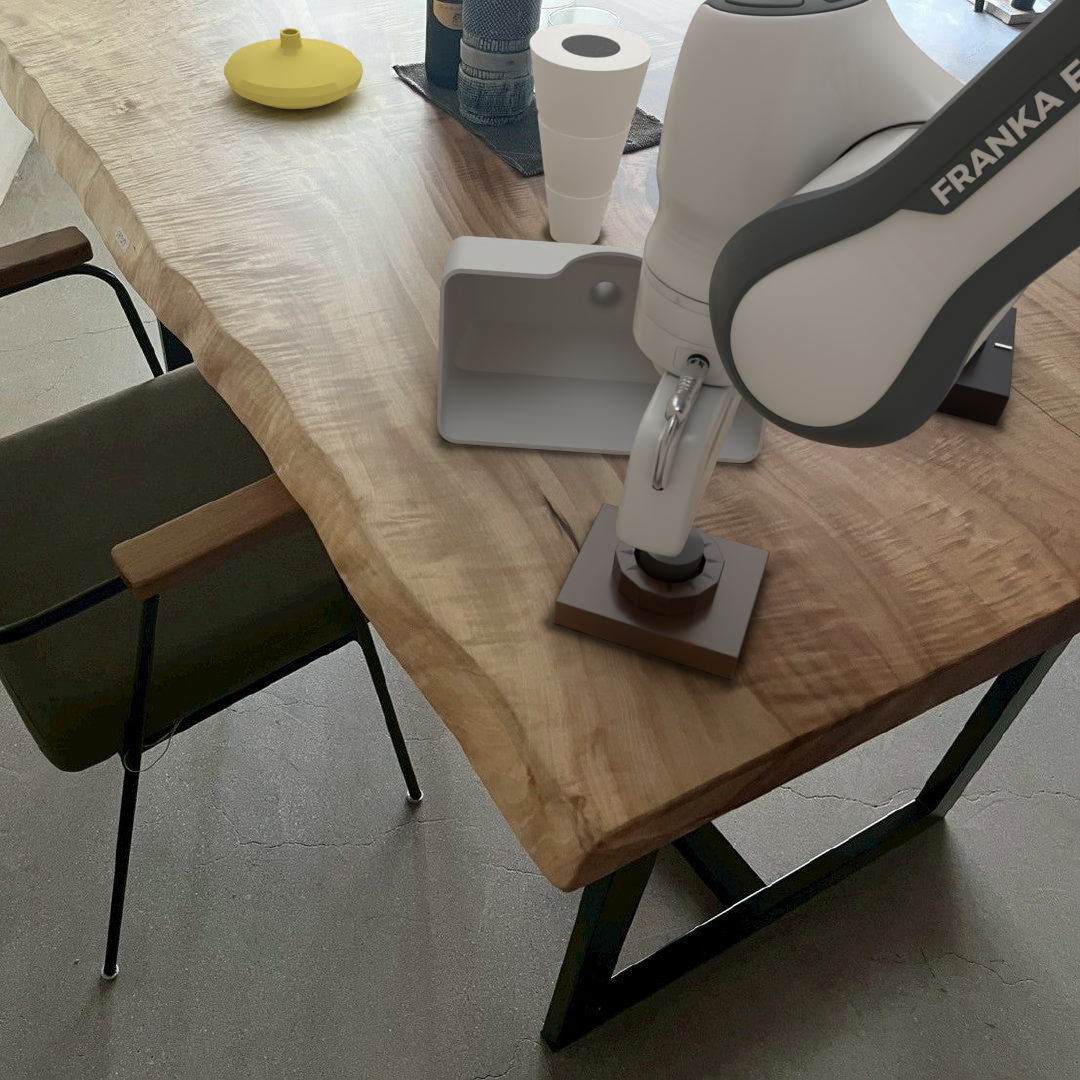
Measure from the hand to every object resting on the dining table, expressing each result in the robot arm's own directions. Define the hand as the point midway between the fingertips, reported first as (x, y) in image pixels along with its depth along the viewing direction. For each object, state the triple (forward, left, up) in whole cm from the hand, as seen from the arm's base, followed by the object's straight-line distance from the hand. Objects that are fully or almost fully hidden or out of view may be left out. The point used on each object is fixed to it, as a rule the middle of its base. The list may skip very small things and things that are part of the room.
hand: (678, 501), depth 64 cm
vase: (+61, -59, -9) cm, 85 cm away
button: (0, 0, -5) cm, 5 cm away
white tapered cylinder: (+21, -43, -9) cm, 49 cm away
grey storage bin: (+11, -20, -9) cm, 24 cm away
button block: (0, 0, -9) cm, 9 cm away
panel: (-16, -36, -9) cm, 40 cm away
